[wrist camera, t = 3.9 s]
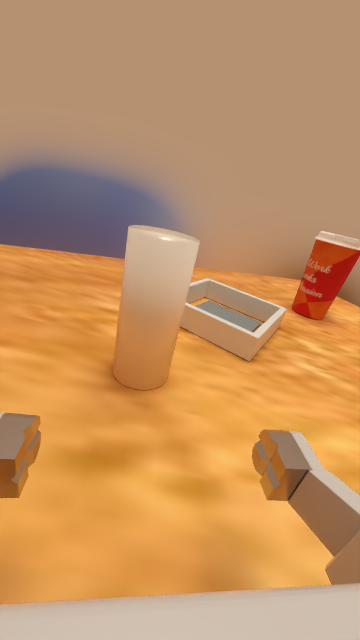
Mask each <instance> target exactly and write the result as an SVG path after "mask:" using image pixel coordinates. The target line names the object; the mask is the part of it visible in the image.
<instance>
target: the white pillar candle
mask: <svg viewBox="0 0 360 640" xmlns="http://www.w3.org/2000/svg"><path fill="white" fill-rule="evenodd" d="M199 243H200V241H199V240H198V239H196V238H194V237H191V236H189V235H186V234H182V233H179V232H175V231H171V230H167V229H162V228H157V227H150V226H141V225H132V226H129V228H128V237H127V245H126V254H125V263H124V272H123V280H122V289H121V298H120V306H119V315H118V324H117V333H116V341H115V350H114V359H113V367H112V372H113V375H114V377H115V378H116V380H117V381H118V382H120V383H121V384H123V385H124V386H126V387H129V388H132V389H136V390H151V389H155V388H158V387H160V386H161V385H163V384H164V383H165V382H166V381H167V379H168V375H169V371H170V366H171V362H172V358H173V354H174V350H175V345H176V341H177V337H178V333H179V328H180V324H181V320H182V316H183V311H184V307H185V303H186V299H187V294H188V290H189V286H190V282H191V277H192V273H193V269H194V264H195V260H196V256H197V252H198V247H199Z"/></svg>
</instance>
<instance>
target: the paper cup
mask: <svg viewBox="0 0 360 640" xmlns="http://www.w3.org/2000/svg"><path fill="white" fill-rule="evenodd" d="M315 239H316V242H315V244H314V247H313V250H312V253H311V255H310V258H309V261H308V264H307V266H306V269H305V272H304V275H303V278H302V280H301V283H300V286H299V288H298V291H297V294H296V297H295V300H294V303H293V306H292V309H293V310H294V311H295V312H296V313H298V314H300V315H302V316H305V317H307V318H311V319H315V320H321V319H322V318H323V317H324V316H325V314H326V312H327V311H328V309H329V307H330V306H331V304H332V302H333V301H334V299H335V297H336V296H337V294H338V292H339V290H340V289H341V287H342V285H343V284H344V282H345V280H346V278H347V277H348V275H349V273H350V272H351V270H352V268H353V266H354V265H355V263H356V261H357V260H358V258H359V256H360V240H358V239H354V238H350V237H345V236H341V235H337V234H333V233H328V232H324V231H321V232H320V233H319V235H318V237H315Z"/></svg>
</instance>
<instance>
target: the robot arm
mask: <svg viewBox="0 0 360 640" xmlns="http://www.w3.org/2000/svg"><path fill="white" fill-rule="evenodd" d="M39 425H40V416H36V415H25V414H14V413H0V498H19V497H20V494H21V492H22V490H23V487H24V485H25V483H26V480H27V478H28V467H29V466H30V465H32V464H33V463H34V461H35V459H36V456H37V454H38V450H39V447H40V441H41V432H40V431H39V430H38V427H39ZM259 438H260V441H258V442H257V443H255V445H254V447H253V450H252V459H253V464H254V467H255V470H256V471H257V472H258V473H259V474H260V475H261V479H260V483H261V486H262V488H263V491H264V494H265V496H266V499H267V500H276V501H288V503H289V504H290V505H291V506H292V508H293V509H294V510H295V511H296V512H297V514H298V515H299V516H300V517H301V518H302V519H303V521H304V522H305V523H306V524H307V525H308V527H309V528H310V529H311V530H312V531H313V532H314V534H315V535H316V536H317V537H318V538H319V540H320V541H321V542H322V543H323V544H324V545H325V547H326V548H327V549H328V550H329V551H330V553H331V554H332V555H333V556H334V558H333V559H332V560H331V561H330V562H329V563H328V564H327V565H326V569H325V571H326V573H327V575H328V577H329V580H330V582H331V584H332V585H318V586H301V587H284V588H267V589H250V590H233V591H216V592H199V593H182V594H165V595H148V596H131V597H114V598H97V599H80V600H64V601H47V602H30V603H13V604H0V640H360V496H359V495H358V494H357V493H356V492H354V491H353V490H352V489H351V488H349V487H348V486H347V485H346V484H344V483H343V482H342V481H341V480H340V479H338V478H337V477H336V476H335V475H333V474H332V473H331V472H330V471H325V469H324V468H323V466H322V464H321V463H320V461H319V460H318V458H317V456H316V455H315V453H314V452H313V450H312V448H311V447H310V445H309V444H308V442H307V440H306V439H305V437H304V435H303V434H302V433H301V432H297V431H283V430H263V431H261V433H260V435H259Z"/></svg>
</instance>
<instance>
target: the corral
mask: <svg viewBox="0 0 360 640" xmlns="http://www.w3.org/2000/svg"><path fill="white" fill-rule="evenodd" d="M204 297H206V298H209V299H211V300H213V301H216V302H218V303H220V304H223V305H225V306H227V307H230V308H232V309H234V310H237V311H239V312H241V313H244V314H246V315H249V316H251V317H253V318H256V319H258V320H260V321H263V322H265V323H264V324H263V325H262V326H261V327H260V328H259V329H257V330H256V331H255V332H254V333H253V331H254V330H255V329H256V328H257V327H259V326H260V325H261V323H260V322H258V321H256V320H253V319H251V318H249V317H246V316H244V315H242V314H239V313H237V312H235V311H232V310H230V309H228V308H225V307H223V306H221V305H218V304H216V303H214V302H211V301H207V302H204V303H202V304H200V305H198V306H193V305H191V304H189V303H192V302H194V301H197V300H199V299H201V298H204ZM286 310H287V309H286V308H284V307H281V306H278V305H276V304H273V303H271V302H268V301H265V300H263V299H260V298H258V297H255V296H253V295H250V294H247V293H245V292H242V291H240V290H237V289H234V288H232V287H229V286H227V285H224V284H221V283H219V282H216V281H214V280H211V279H209V278H206V279H203V280H200V281H196V282H193V283H190V286H189V290H188V294H187V299H186V303H185V307H184V311H183V316H182V320H181V324H180V327H182V328H184V329H186V330H188V331H190V332H192V333H194V334H196V335H198V336H200V337H202V338H204V339H206V340H208V341H210V342H212V343H214V344H216V345H218V346H220V347H222V348H223V349H225V350H227V351H229V352H231V353H233V354H235V355H237V356H239V357H241V358H243V359H245V360H247V361H250V360H251V359H252V358H253V357H254V356H255V354H256V353H257V352H258V351H259V350H260V349H261V347H262V346H263V345H264V344H265V343H266V342H267V341H268V339H269V338H270V337H271V336H272V335H273V334H274V332H275V331H276V330H277V329H278V328H279V327H280V324H281V322H282V320H283V317H284V315H285V313H286Z"/></svg>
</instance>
